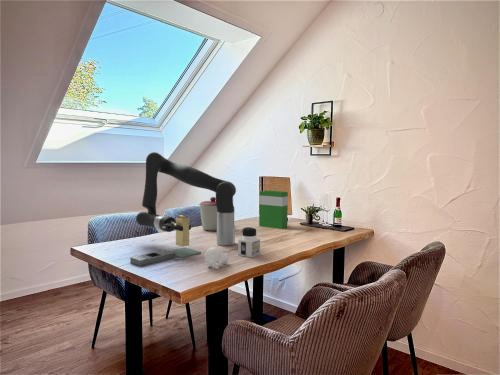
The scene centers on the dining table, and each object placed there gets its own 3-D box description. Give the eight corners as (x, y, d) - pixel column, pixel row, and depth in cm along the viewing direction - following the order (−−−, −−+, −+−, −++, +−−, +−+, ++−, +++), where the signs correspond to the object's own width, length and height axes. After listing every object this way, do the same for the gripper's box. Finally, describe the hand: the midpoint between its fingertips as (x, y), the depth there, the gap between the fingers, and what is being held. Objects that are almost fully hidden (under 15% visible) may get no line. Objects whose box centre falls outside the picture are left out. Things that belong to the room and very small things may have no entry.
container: (251, 257, 166) (252, 230, 165) (237, 255, 170) (238, 228, 169) (260, 254, 173) (260, 227, 172) (246, 251, 177) (246, 225, 176)
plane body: (165, 254, 169) (165, 249, 169) (175, 258, 164) (175, 252, 164) (130, 262, 156) (130, 257, 156) (140, 266, 151) (140, 260, 151)
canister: (211, 225, 245) (211, 194, 243) (232, 229, 234) (232, 196, 233) (192, 229, 230) (192, 197, 229) (214, 233, 220) (214, 199, 218)
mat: (185, 249, 181) (185, 247, 181) (201, 253, 173) (201, 251, 173) (165, 253, 172) (165, 251, 172) (180, 258, 164) (180, 256, 164)
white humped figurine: (203, 247, 150) (222, 244, 159) (202, 267, 150) (221, 263, 159) (214, 249, 146) (233, 246, 156) (213, 270, 146) (232, 266, 156)
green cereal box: (259, 226, 246) (259, 191, 244) (264, 224, 252) (265, 190, 250) (281, 229, 236) (282, 192, 234) (287, 227, 242) (287, 191, 240)
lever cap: (182, 243, 175) (182, 214, 174) (189, 245, 172) (189, 215, 171) (175, 244, 172) (176, 215, 171) (182, 246, 169) (182, 216, 168)
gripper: (152, 217, 175) (174, 222, 164) (176, 214, 186) (198, 218, 175) (152, 232, 176) (174, 238, 165) (176, 228, 187) (198, 233, 175)
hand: (186, 228), depth 170 cm, fingers closed on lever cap, 4 cm apart
